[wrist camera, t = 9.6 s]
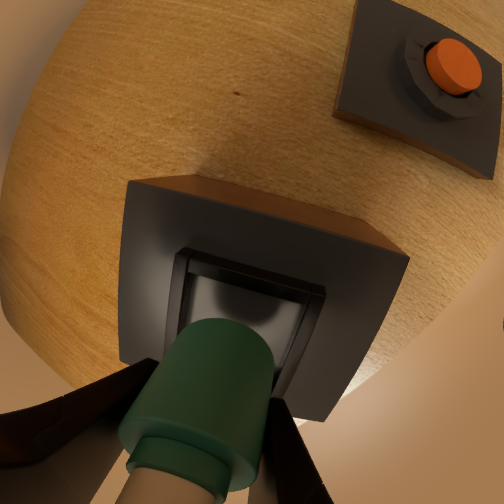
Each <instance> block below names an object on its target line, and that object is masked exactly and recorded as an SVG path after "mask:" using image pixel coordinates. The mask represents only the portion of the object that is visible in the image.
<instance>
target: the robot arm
mask: <svg viewBox="0 0 504 504" xmlns="http://www.w3.org/2000/svg"><path fill="white" fill-rule="evenodd" d="M159 363H160V362H159V361H157V360H154V359H152V358H145V359H143V360H141V361H139V362H137V363H135V364H133V365H131V366H128V367H126V368H124V369H122V370H120V371H118V372H116V373H113V374H111V375H109V376H107V377H105V378H102V379H100V380H98V381H96V382H93V383H91V384H89V385H86V386H84V387H82V388H80V389H77V390H75V391H73V392H70V393H68V394H66V395H64V396H61V397H58V398H56V399H53V400H50V401H48V402H45V403H42V404H39V405H36V406H33V407H29V408H26V409H21V410H17V411H13V412H9V413H4V414H0V504H89V503H90V502H91V500H92V499H93V497H94V495H95V494H96V492H97V491H98V489H99V487H100V486H101V484H102V483H103V481H104V479H105V478H106V476H107V475H108V473H109V471H110V470H111V468H112V467H113V465H114V463H115V462H116V460H117V459H118V457H119V456H120V454H121V452H122V451H123V449H124V447H123V446H122V444H121V442H120V440H119V437H118V426H119V423H120V422H121V420H122V419H123V417H124V416H125V414H126V413H127V411H128V410H129V408H130V407H131V405H132V404H133V402H134V401H135V399H136V398H137V396H138V395H139V393H140V392H141V390H142V389H143V387H144V386H145V384H146V383H147V381H148V380H149V378H150V377H151V375H152V374H153V372H154V371H155V369H156V368H157V366H158V365H159ZM322 483H323V481H322V479H321V477H320V475H319V473H318V471H317V469H316V467H315V465H314V463H313V461H312V459H311V456H310V454H309V452H308V450H307V448H306V446H305V444H304V441H303V439H302V437H301V435H300V433H299V431H298V429H297V426H296V424H295V422H294V420H293V418H292V415H291V413H290V411H289V409H288V407H287V404H286V402H285V400H284V399H281V398H277V397H271V398H270V404H269V410H268V417H267V424H266V430H265V437H264V443H263V449H262V455H261V461H260V467H259V473H258V477H257V479H256V481H255V482H254V483H253V484H252V485H251V486H250V488H249V496H248V504H334V503H333V501H332V499H331V497H330V495H329V494H328V492H327V489H326V487H325V485H324V484H322Z"/></svg>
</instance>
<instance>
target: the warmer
mask: <svg viewBox="0 0 504 504" xmlns="http://www.w3.org/2000/svg"><path fill="white" fill-rule="evenodd" d="M409 260H410V257H409V256H408V255H407V254H406V253H404V252H403V251H402V250H401V249H400V248H398V247H397V246H396V245H395V244H394V243H392V242H391V241H390V240H389V239H387V238H386V237H385V236H384V235H382V234H381V233H380V232H378V231H377V230H376V229H375V228H373V227H372V226H371V225H369V224H368V223H367V222H366V221H364V220H361V219H357V218H354V217H351V216H348V215H345V214H342V213H338V212H335V211H332V210H329V209H325V208H322V207H319V206H315V205H312V204H308V203H305V202H301V201H298V200H294V199H291V198H287V197H283V196H280V195H276V194H272V193H268V192H265V191H261V190H257V189H253V188H249V187H245V186H241V185H237V184H233V183H228V182H224V181H220V180H215V179H211V178H207V177H202V176H198V175H180V176H168V177H157V178H148V179H139V180H130V181H128V185H127V192H126V199H125V207H124V215H123V224H122V235H121V247H120V261H119V283H118V336H119V358H120V361H121V362H123V363H126V364H128V365H130V366H131V365H133V364H135V363H137V362H139V361H141V360H143V359H145V358H152V359H154V360H157V361H159V362H161V360H162V359H163V357H164V356H165V354H166V353H167V351H168V350H169V348H170V347H171V345H172V344H173V342H174V341H175V340H176V338H177V337H178V335H179V334H180V332H181V331H182V330H183V329H184V328H185V327H186V326H188V325H189V324H191V323H193V322H195V321H198V320H201V319H206V318H224V319H229V320H233V321H236V322H239V323H241V324H244V325H246V326H248V327H249V328H251V329H252V330H254V331H255V332H257V333H258V334H259V335H260V336H261V337H262V338H263V339H264V340H265V341H266V343H267V344H268V346H269V347H270V349H271V351H272V354H273V357H274V374H273V382H272V389H271V396H270V398H271V397H277V398H281V399H284V400H285V402H286V404H287V407H288V409H289V411H290V413H291V415H292V417H295V418H300V419H306V420H312V421H318V422H324V421H325V420H326V418H327V417H328V415H329V414H330V413H331V411H332V410H333V408H334V407H335V405H336V404H337V402H338V401H339V399H340V397H341V396H342V394H343V393H344V391H345V390H346V388H347V386H348V385H349V383H350V381H351V380H352V378H353V376H354V375H355V373H356V371H357V369H358V368H359V366H360V364H361V362H362V361H363V359H364V357H365V355H366V353H367V352H368V350H369V348H370V346H371V344H372V342H373V340H374V338H375V336H376V334H377V332H378V330H379V328H380V326H381V324H382V322H383V320H384V318H385V316H386V314H387V312H388V310H389V308H390V305H391V303H392V301H393V299H394V296H395V294H396V292H397V289H398V287H399V285H400V282H401V280H402V278H403V275H404V273H405V270H406V267H407V265H408V262H409Z"/></svg>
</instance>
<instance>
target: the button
mask: <svg viewBox="0 0 504 504" xmlns="http://www.w3.org/2000/svg"><path fill="white" fill-rule="evenodd" d="M426 67H427V70H428V72H429V74H430V76H431V78H432V79H433V81H434V82H435V83H436V84H437V85H438V86H439V87H440V88H441V89H442V90H444V91H445V92H447V93H450V94H453V95H460V94H463V93H465V92H468V91H470V90H473V89H476V88H477V87H478V86H479V85H480V83H481V80H482V71H481V67H480V65H479V62H478V60H477V58H476V57H475V55H474V54H473V53H472V51H471V50H470V49H469V48H468V47H467V46H465V45H464V44H463V43H461V42H459V41H457V40H455V39H450V38H447V39H443V40H441V41H440V42H439V43H438V44H436V45H435V46H434V47H433V48H432V49H430V50H429V51H428V53H427V55H426Z"/></svg>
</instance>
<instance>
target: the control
mask: <svg viewBox="0 0 504 504" xmlns="http://www.w3.org/2000/svg"><path fill="white" fill-rule="evenodd" d="M447 38H450V39H455V40H457V41H459V42H461V43H463V44H464V45H465V46H467V47H468V48H469V49H470V50H471V51H472V53H473V54H474V55H475V57H476V58H477V60H478V62H479V65H480V67H481V71H482V80H481V83H480V85H479V86H478V87H477V88H476V89H473V90H470V91H468V92H465V93H463V94H460V95H453V94H450V93H447V92H445V91H444V90H442V89H441V88H440V87H439V86H438V85H437V84H436V83H435V82H434V81H433V79H432V78H431V76H430V74H429V72H428V70H427V67H426V55H427V53H428V51H429V50H430V49H432V48H433V47H434V46H435V45H436V44H438V43H439V42H440V41H441V40H443V39H447ZM501 111H502V64H501V63H500V62H498V61H497V60H496V59H495V58H493V57H492V56H491V55H489V54H488V53H486V52H485V51H484V50H482V49H481V48H479V47H478V46H476V45H475V44H473V43H472V42H470V41H469V40H467V39H466V38H464V37H463V36H461V35H459V34H458V33H456V32H454V31H453V30H451V29H449V28H447V27H446V26H444V25H442V24H440V23H438V22H436V21H435V20H433V19H431V18H429V17H427V16H425V15H423V14H421V13H419V12H416V11H414V10H412V9H410V8H408V7H405V6H403V5H401V4H398V3H396V2H393V1H391V0H356V2H355V5H354V11H353V17H352V22H351V27H350V33H349V38H348V43H347V48H346V53H345V58H344V63H343V67H342V72H341V77H340V81H339V86H338V90H337V95H336V99H335V103H334V107H333V112H332V116H333V117H336V118H340V119H343V120H346V121H349V122H352V123H355V124H358V125H361V126H364V127H366V128H369V129H372V130H375V131H377V132H380V133H382V134H385V135H388V136H390V137H393V138H395V139H397V140H400V141H402V142H405V143H407V144H409V145H412V146H414V147H416V148H418V149H420V150H423V151H425V152H427V153H429V154H431V155H433V156H435V157H437V158H439V159H441V160H443V161H445V162H447V163H449V164H451V165H453V166H455V167H457V168H459V169H460V170H462V171H464V172H466V173H468V174H469V175H471V176H473V177H475V178H477V179H485V180H493V175H494V170H495V164H496V158H497V151H498V144H499V135H500V125H501Z"/></svg>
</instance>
